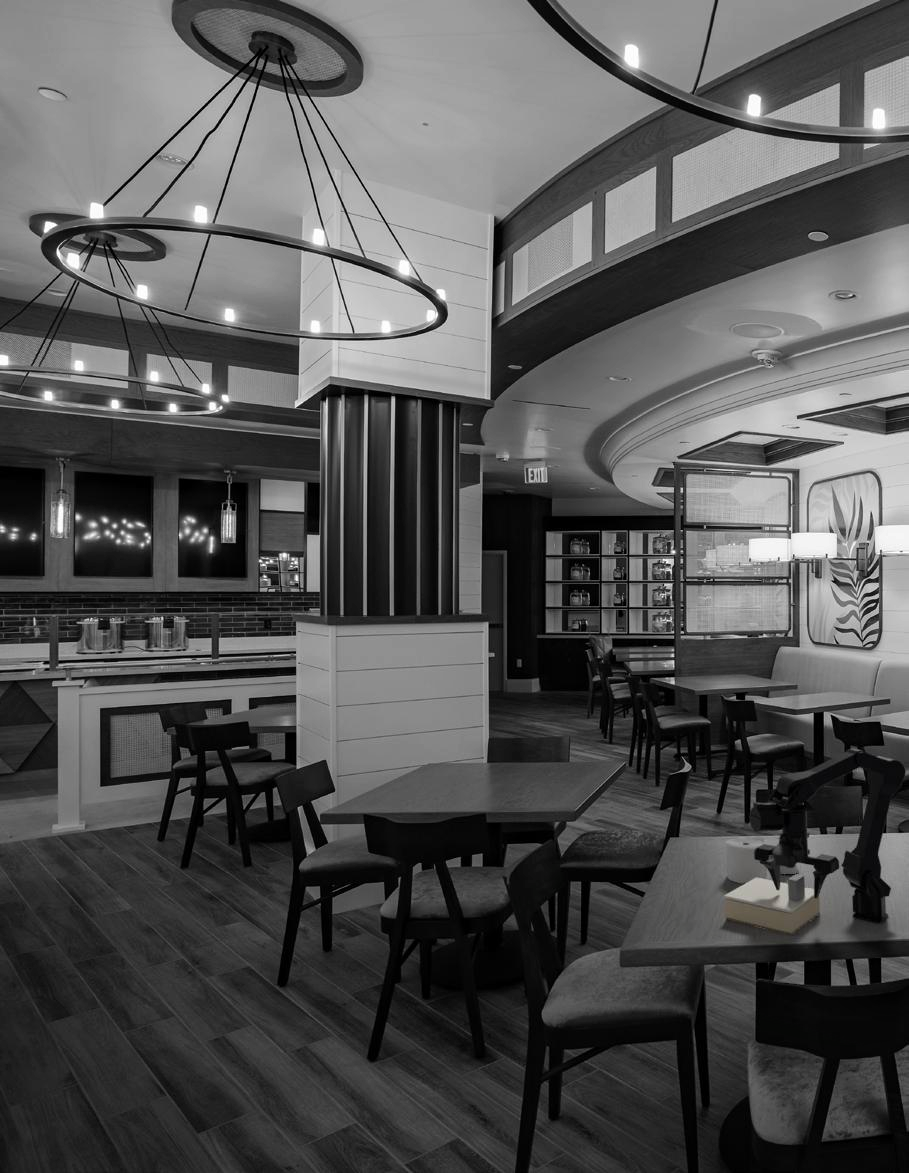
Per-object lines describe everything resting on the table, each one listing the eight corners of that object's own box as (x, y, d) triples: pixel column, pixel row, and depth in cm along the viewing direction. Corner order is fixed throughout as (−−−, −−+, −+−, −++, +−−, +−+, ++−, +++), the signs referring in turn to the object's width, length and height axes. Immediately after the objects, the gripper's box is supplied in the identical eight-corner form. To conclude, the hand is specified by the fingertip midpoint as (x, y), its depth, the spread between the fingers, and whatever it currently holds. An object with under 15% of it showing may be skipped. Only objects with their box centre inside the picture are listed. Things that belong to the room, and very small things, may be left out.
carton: (819, 914, 210) (819, 894, 210) (791, 935, 197) (790, 914, 197) (757, 900, 221) (756, 881, 221) (726, 919, 208) (725, 899, 208)
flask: (785, 877, 239) (783, 841, 239) (766, 870, 246) (765, 835, 246) (804, 873, 242) (803, 838, 242) (785, 867, 249) (784, 832, 249)
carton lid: (820, 892, 210) (819, 870, 210) (790, 913, 197) (790, 888, 197) (756, 879, 221) (755, 858, 221) (724, 898, 208) (723, 875, 208)
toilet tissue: (726, 882, 235) (725, 846, 236) (728, 870, 247) (727, 835, 247) (767, 886, 232) (765, 849, 232) (767, 873, 243) (765, 838, 243)
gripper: (743, 829, 206) (745, 894, 205) (821, 842, 193) (824, 911, 193) (762, 821, 214) (764, 883, 213) (838, 832, 201) (841, 898, 201)
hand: (796, 893), depth 205 cm, fingers open, 9 cm apart
